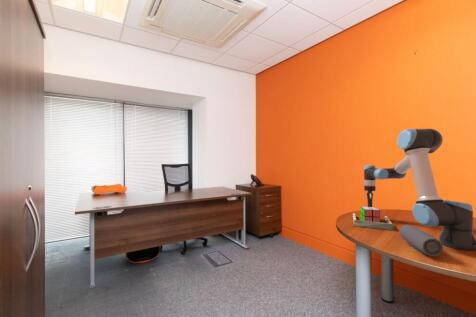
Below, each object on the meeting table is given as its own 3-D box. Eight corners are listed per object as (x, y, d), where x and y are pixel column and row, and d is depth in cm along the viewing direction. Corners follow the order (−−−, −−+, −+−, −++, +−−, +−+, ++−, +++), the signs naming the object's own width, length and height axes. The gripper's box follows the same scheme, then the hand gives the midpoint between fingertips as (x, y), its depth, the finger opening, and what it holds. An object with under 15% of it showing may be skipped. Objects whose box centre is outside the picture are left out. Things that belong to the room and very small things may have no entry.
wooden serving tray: (394, 230, 149) (394, 224, 149) (354, 226, 158) (354, 220, 158) (386, 219, 176) (386, 213, 176) (352, 216, 186) (352, 211, 186)
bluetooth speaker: (444, 259, 106) (444, 238, 106) (421, 258, 108) (421, 236, 108) (417, 242, 128) (417, 224, 128) (398, 241, 130) (398, 223, 130)
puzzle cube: (380, 224, 163) (380, 210, 163) (364, 223, 165) (364, 209, 165) (375, 220, 172) (375, 207, 172) (360, 219, 175) (360, 206, 175)
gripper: (363, 184, 184) (363, 214, 184) (364, 186, 172) (364, 218, 173) (374, 184, 181) (374, 214, 181) (376, 186, 169) (376, 219, 169)
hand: (369, 216), depth 177 cm, fingers closed
